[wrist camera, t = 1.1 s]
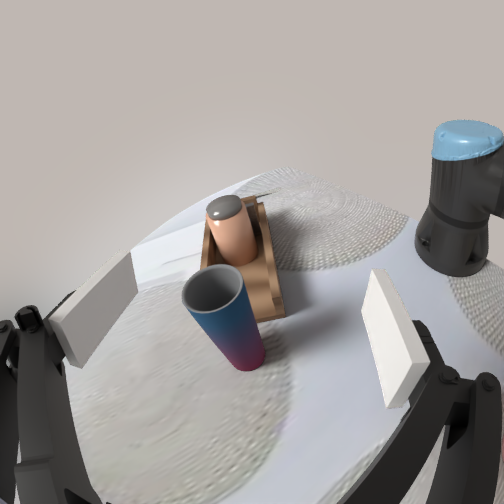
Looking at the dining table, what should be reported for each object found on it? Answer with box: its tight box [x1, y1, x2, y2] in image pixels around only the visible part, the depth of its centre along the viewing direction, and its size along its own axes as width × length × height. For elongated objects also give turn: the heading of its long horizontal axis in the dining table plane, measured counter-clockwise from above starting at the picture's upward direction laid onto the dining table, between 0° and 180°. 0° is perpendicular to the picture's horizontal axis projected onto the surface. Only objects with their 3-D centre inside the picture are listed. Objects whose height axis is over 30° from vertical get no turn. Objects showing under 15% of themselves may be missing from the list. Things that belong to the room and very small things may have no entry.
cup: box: [182, 264, 265, 371], centre depth 34 cm, size 7×7×15 cm
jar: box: [206, 195, 259, 267], centre depth 51 cm, size 7×7×11 cm
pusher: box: [245, 203, 262, 236], centre depth 55 cm, size 1×9×9 cm, turn 94°
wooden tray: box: [200, 195, 286, 323], centre depth 51 cm, size 26×12×7 cm, turn 4°
